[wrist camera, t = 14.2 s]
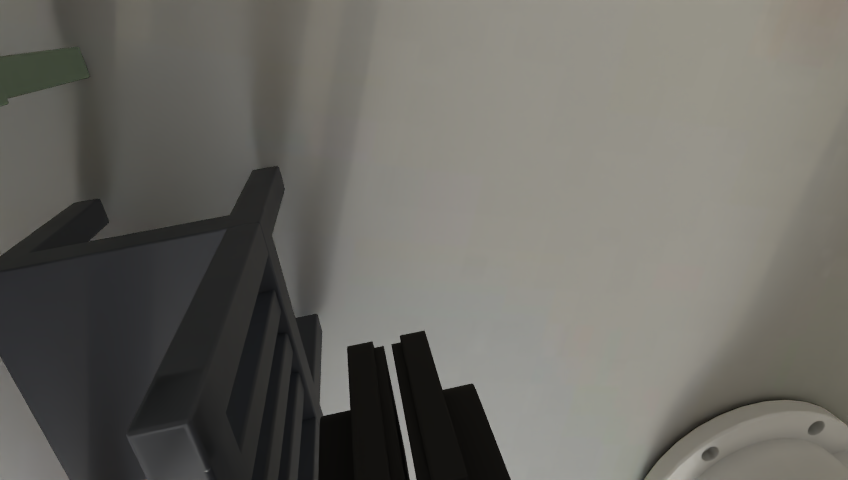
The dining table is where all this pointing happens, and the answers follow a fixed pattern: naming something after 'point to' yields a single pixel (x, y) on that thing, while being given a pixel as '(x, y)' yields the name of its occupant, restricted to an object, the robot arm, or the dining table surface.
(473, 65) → the dining table surface
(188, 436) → the charcoal chair
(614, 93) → the dining table surface
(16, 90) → the sage chair
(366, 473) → the robot arm
